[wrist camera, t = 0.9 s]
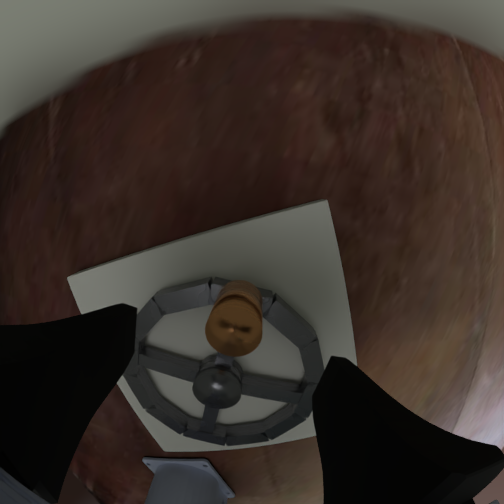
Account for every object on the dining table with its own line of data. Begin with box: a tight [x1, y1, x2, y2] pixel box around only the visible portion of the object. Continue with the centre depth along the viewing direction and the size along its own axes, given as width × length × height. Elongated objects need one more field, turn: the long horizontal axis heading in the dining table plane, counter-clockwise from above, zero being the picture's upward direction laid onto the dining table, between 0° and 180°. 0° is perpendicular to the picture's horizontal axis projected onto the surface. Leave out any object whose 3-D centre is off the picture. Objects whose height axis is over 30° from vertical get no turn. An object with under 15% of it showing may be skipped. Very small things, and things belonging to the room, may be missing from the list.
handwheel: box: [123, 276, 324, 446], centre depth 15 cm, size 14×13×5 cm
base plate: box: [67, 199, 357, 452], centre depth 18 cm, size 18×18×2 cm
